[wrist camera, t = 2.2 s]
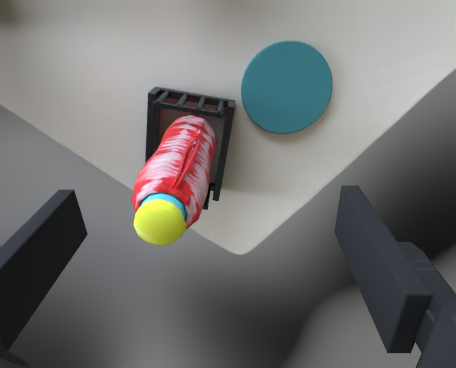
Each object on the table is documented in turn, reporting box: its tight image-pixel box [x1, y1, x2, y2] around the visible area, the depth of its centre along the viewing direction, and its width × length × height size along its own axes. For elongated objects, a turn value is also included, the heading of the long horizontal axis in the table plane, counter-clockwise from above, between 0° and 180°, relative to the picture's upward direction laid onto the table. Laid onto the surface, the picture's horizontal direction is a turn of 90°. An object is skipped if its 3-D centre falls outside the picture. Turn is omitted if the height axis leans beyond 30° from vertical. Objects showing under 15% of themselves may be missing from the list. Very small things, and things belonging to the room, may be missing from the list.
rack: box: [145, 87, 235, 210], centre depth 47 cm, size 12×15×7 cm
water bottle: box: [132, 115, 217, 246], centre depth 39 cm, size 12×8×25 cm, turn 148°
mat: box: [241, 41, 332, 133], centre depth 46 cm, size 13×13×1 cm
